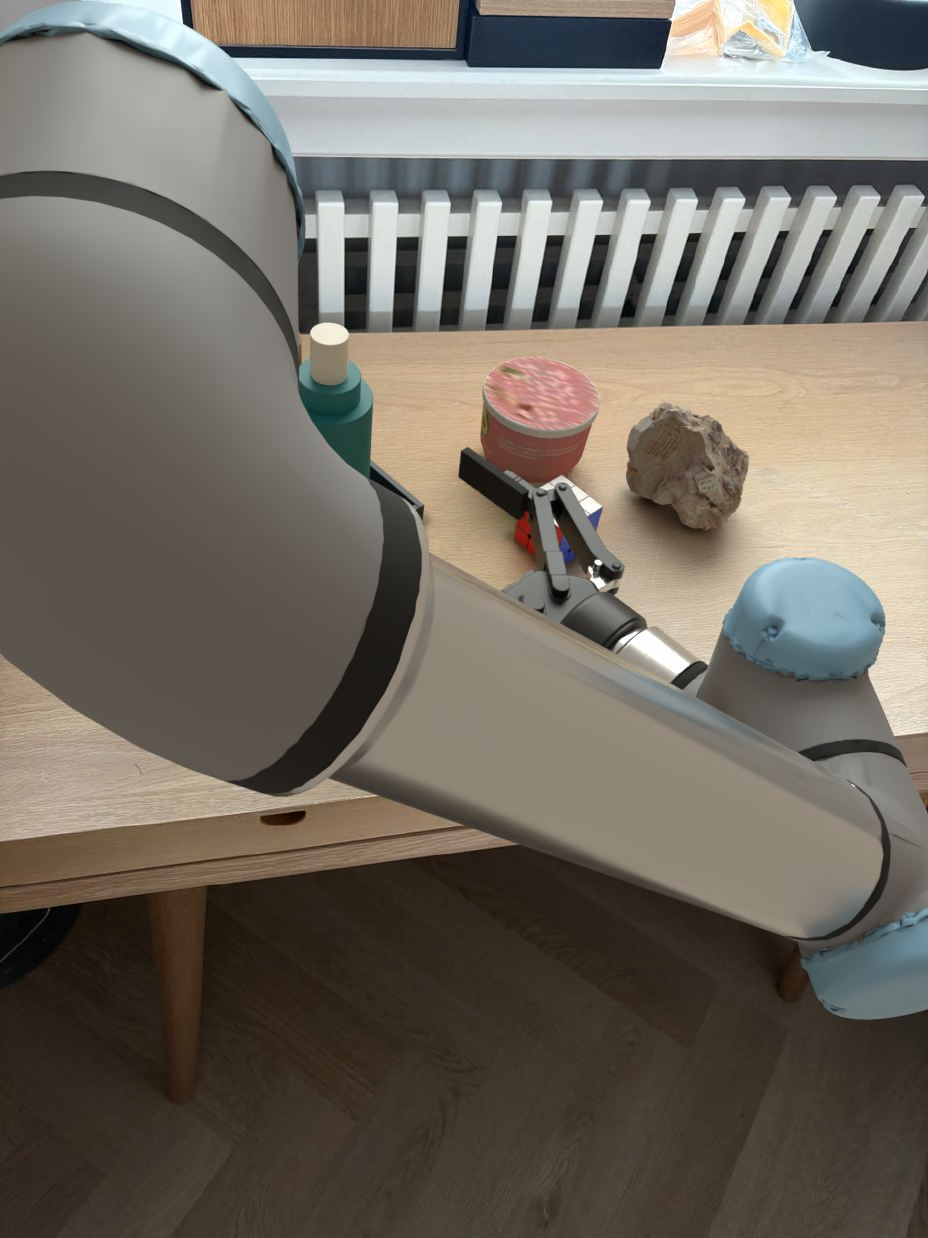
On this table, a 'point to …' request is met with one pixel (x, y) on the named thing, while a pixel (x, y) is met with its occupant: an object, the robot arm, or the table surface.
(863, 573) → the table surface
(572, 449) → the container
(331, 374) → the bottle
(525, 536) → the rubik's cube
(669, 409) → the rock
